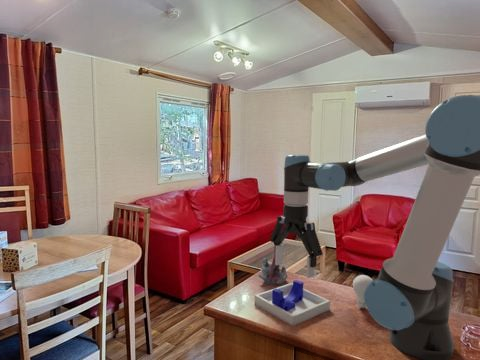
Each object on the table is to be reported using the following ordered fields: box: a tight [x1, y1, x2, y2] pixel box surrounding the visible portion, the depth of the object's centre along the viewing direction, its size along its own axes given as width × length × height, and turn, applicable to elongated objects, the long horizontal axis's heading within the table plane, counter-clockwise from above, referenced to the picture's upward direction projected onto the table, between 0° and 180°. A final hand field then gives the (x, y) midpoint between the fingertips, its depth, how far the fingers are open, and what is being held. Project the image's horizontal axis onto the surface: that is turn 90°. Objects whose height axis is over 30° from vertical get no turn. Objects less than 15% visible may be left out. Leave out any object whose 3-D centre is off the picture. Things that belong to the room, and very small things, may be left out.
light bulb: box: [352, 274, 374, 309], centre depth 114 cm, size 7×7×11 cm
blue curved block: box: [271, 279, 304, 311], centre depth 114 cm, size 12×4×6 cm, turn 133°
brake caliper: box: [258, 253, 288, 286], centre depth 135 cm, size 11×11×12 cm
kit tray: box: [254, 282, 331, 327], centre depth 114 cm, size 17×17×3 cm
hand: (293, 270), depth 112 cm, fingers open, 13 cm apart
